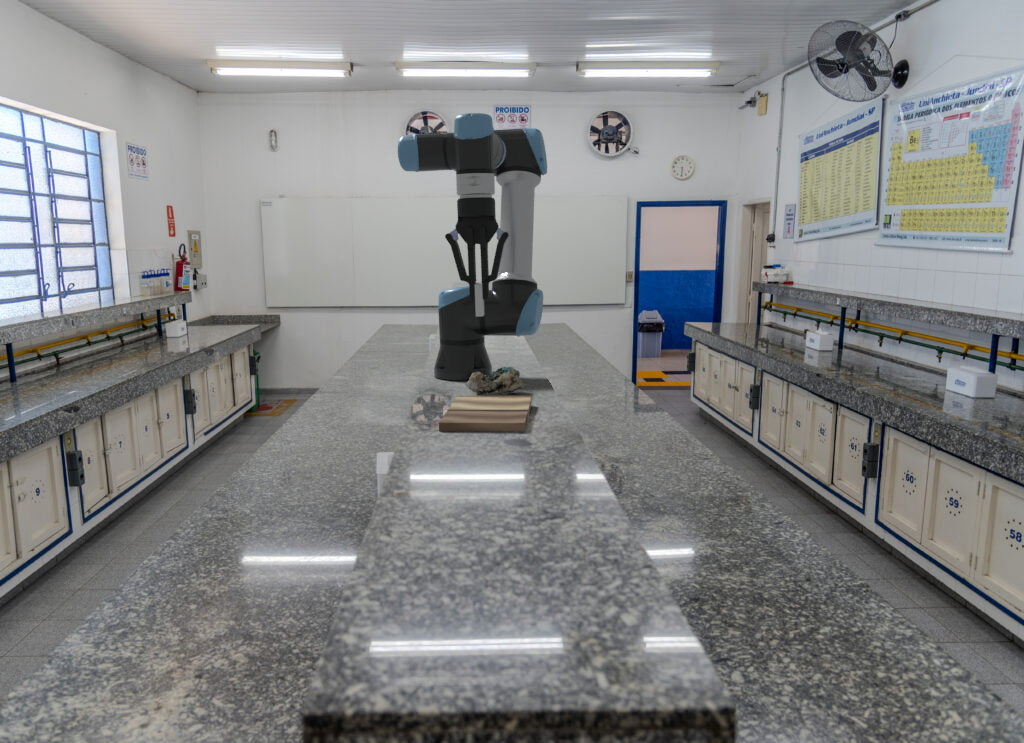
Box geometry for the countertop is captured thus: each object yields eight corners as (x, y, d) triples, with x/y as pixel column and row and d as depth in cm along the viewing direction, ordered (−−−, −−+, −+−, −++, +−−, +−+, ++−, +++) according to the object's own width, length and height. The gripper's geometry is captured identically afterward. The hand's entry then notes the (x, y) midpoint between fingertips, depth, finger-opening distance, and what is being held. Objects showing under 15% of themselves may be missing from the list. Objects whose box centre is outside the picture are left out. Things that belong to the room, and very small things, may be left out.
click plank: (457, 402, 150) (456, 395, 150) (531, 402, 149) (531, 395, 148) (448, 416, 141) (448, 408, 140) (528, 416, 139) (528, 409, 139)
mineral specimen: (525, 386, 164) (512, 355, 164) (526, 391, 155) (512, 358, 155) (476, 405, 165) (464, 374, 164) (474, 411, 156) (461, 378, 155)
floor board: (448, 417, 140) (448, 409, 140) (528, 417, 139) (528, 409, 138) (439, 431, 130) (438, 422, 130) (524, 431, 129) (524, 422, 129)
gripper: (440, 197, 135) (445, 318, 140) (507, 195, 134) (510, 317, 139) (446, 198, 143) (451, 313, 148) (510, 196, 142) (513, 312, 147)
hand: (480, 315), depth 144 cm, fingers closed
